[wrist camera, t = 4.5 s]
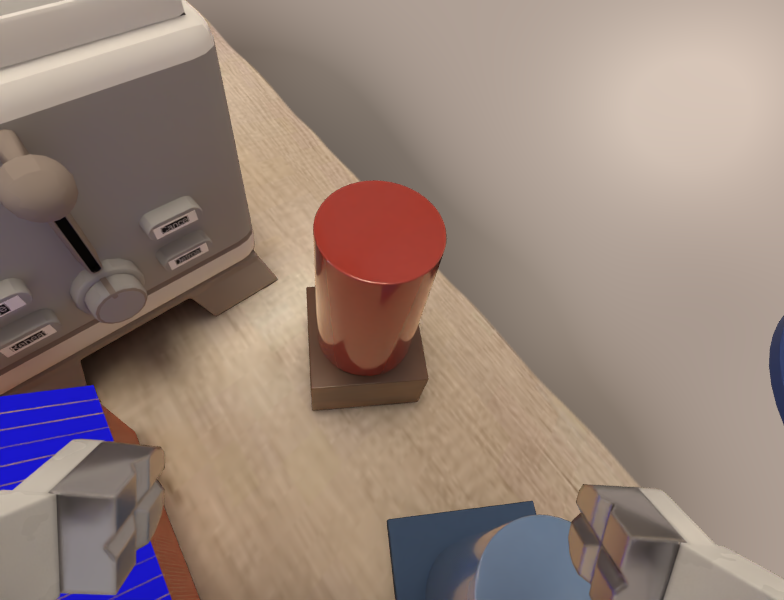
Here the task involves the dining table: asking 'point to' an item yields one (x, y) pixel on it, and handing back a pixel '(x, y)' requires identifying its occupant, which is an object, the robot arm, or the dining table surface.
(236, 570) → the dining table surface
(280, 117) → the dining table surface
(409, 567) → the blue mat
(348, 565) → the dining table surface
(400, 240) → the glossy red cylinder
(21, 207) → the toaster
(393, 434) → the dining table surface
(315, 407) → the riser
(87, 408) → the house
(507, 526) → the blue canister
